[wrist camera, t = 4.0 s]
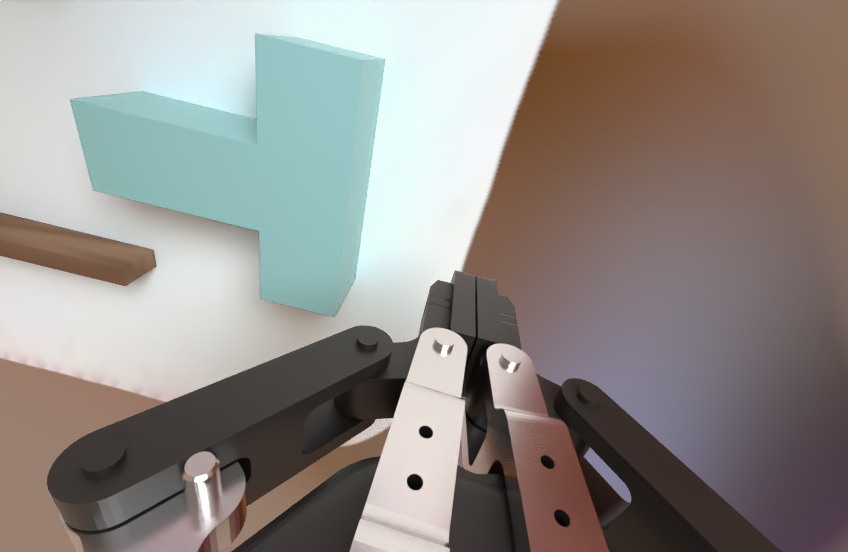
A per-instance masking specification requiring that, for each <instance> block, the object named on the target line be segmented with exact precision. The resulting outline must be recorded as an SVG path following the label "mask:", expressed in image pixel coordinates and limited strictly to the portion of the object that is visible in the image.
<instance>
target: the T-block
mask: <svg viewBox="0 0 848 552" xmlns="http://www.w3.org/2000/svg"><path fill="white" fill-rule="evenodd" d="M255 60H256V108H257V119H253V118H249V117H245V116H241V115H236V114H232V113H228V112H224V111H220V110H216V109H212V108H208V107H204V106H200V105H196V104H192V103H188V102H184V101H180V100H176V99H171V98H167V97H163V96H159V95H155V94H151V93H147V92H143V91H142V92H132V93H123V94H113V95H104V96H95V97H85V98H76V99H70V102H71V106H72V110H73V114H74V117H75V121H76V125H77V129H78V133H79V137H80V141H81V145H82V148H83V152H84V156H85V160H86V164H87V168H88V172H89V176H90V180H91V183H92V187H93V191H97V192H101V193H105V194H110V195H114V196H118V197H122V198H126V199H130V200H134V201H138V202H142V203H146V204H150V205H154V206H159V207H163V208H167V209H171V210H175V211H179V212H183V213H187V214H191V215H195V216H199V217H204V218H208V219H212V220H216V221H220V222H224V223H228V224H232V225H236V226H240V227H244V228H248V229H253V230H257V231H259V252H260V299H262V300H266V301H270V302H274V303H278V304H283V305H287V306H291V307H295V308H299V309H303V310H307V311H311V312H315V313H319V314H324V315H328V316H332V317H335V315H336V313H337V312H338V310H339V308H340V306H341V304H342V302H343V301H344V299H345V297H346V295H347V293H348V291H349V289H350V288H351V286H352V284H353V282H354V280H355V277H356V270H357V263H358V255H359V248H360V241H361V233H362V226H363V219H364V211H365V204H366V196H367V189H368V182H369V174H370V167H371V160H372V152H373V145H374V138H375V130H376V123H377V115H378V108H379V101H380V93H381V86H382V79H383V71H384V64H385V59H382V58H378V57H374V56H370V55H366V54H362V53H358V52H354V51H350V50H346V49H342V48H338V47H334V46H330V45H325V44H321V43H317V42H313V41H309V40H305V39H301V38H294V37H284V36H275V35H265V34H255Z"/></svg>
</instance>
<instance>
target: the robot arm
mask: <svg viewBox="0 0 848 552" xmlns="http://www.w3.org/2000/svg"><path fill="white" fill-rule="evenodd" d="M461 396H464V397H466V404H465V400H464V399H463V398H461ZM382 418H393V420H392V423H391V427H390V430H389V433H388V436H387V439H386V442H385V445H384V448H383V451H382V455H381V456H379V457H372V458H368V459H364V460H360V461H358V462H355V463H353V464H350V465H349V466H347V467H345V468H343V469H341V470H340V471H338V472H337V473H335V474H334V475H333V476H332V477H330V478H329V479H327V480H326V481H325V482H323V483H322V484H321V485H319V486H318V487H317V488H315V489H314V490H313V491H311V492H310V493H309V494H307V495H306V496H305V497H303V498H302V499H301V500H300V501H298V502H297V503H295V504H294V505H293V506H291V507H290V508H289V509H288V510H286V511H285V512H283V513H282V514H281V515H279V516H278V517H277V518H275V520H273V521H272V522H270V523H269V524H268V525H266V526H265V527H264V528H262V529H261V530H260V531H258V532H257V533H256V534H254V535H253V536H252V537H250V538H249V539H248V540H246V541H245V542H244V543H242V544H241V545H240V546H238V547H237V548H236V549H234V550H233V551H232V552H782V551H781V550H780V549H779V548H777V547H776V546H775V545H774V544H773V543H772V542H771V541H770V540H769V539H767V538H766V537H765V536H764V535H763V534H762V533H761V532H759V530H757V529H756V528H755V527H754V526H753V525H752V524H751V523H749V522H748V521H747V520H746V519H745V518H744V517H743V516H742V515H741V514H740V513H738V512H737V511H736V510H735V509H734V508H733V507H732V506H731V505H729V504H728V503H727V502H726V501H725V500H724V499H723V498H722V497H721V496H719V495H718V494H717V493H716V492H715V491H714V490H713V489H711V488H710V487H709V486H708V485H707V484H706V483H705V482H704V481H703V480H702V479H700V478H699V477H698V476H697V475H696V474H695V473H694V472H692V471H691V470H690V469H689V468H688V467H687V466H686V465H685V464H683V462H681V461H680V460H679V459H678V458H677V457H676V456H675V455H673V454H672V453H671V452H670V451H669V450H668V449H667V448H666V447H664V446H663V445H662V444H661V443H660V442H659V441H658V440H657V439H656V438H654V437H653V436H652V435H651V434H650V433H649V432H648V431H646V429H644V428H643V427H642V426H641V425H640V424H639V423H638V422H637V421H636V420H634V419H633V418H632V417H631V416H630V415H629V414H627V412H625V411H624V410H623V409H622V408H621V407H620V406H619V405H618V404H616V403H615V402H614V401H613V400H612V399H611V398H610V397H609V396H608V395H606V394H605V393H604V392H603V391H602V390H601V389H599V388H598V387H597V386H595V385H593V384H592V383H590V382H587V381H585V380H582V379H576V378H574V379H573V378H572V379H568V380H566V381H565V382H564V383H563V384H562V386H559V385H557V384H555V383H553V382H551V381H549V380H547V379H545V378H542V377H541V376H539V375H538V374H536V371H535V369H534V365H533V362H532V361H531V359H530V358H529V356H528V355H527V354H526V353H524V352H523V351H522V350H521V344H520V338H519V332H518V326H517V320H516V314H515V308H514V306H513V305H512V303H511V302H510V300H509V299H508V298H507V297H504V296H500V295H498V292H497V283H496V281H495V280H491V279H488V278H483V277H480V276H475V275H471V274H467V273H463V272H459V271H455V272H454V274H453V277H452V280H451V283H448V282H444V281H440V280H438V281H436V282H435V283H434V284H433V285H432V286H431V287H430V291H429V295H428V298H427V302H426V306H425V309H424V313H423V317H422V321H421V326H420V331H419V336H418V337H417V338H416V339H414V340H412V341H409V342H401V343H393V342H392V340H391V338H390V336H389V335H388V334H387V333H385V332H384V331H382V330H381V329H378V328H376V327H372V326H356V327H353V328H350V329H348V330H345V331H343V332H340V333H338V334H335V335H333V336H330V337H328V338H325V339H323V340H320V341H318V342H315V343H313V344H310V345H308V346H305V347H303V348H300V349H298V350H295V351H293V352H290V353H288V354H285V355H283V356H280V357H278V358H275V359H273V360H270V361H268V362H265V363H263V364H261V365H258V366H256V367H253V368H251V369H248V370H246V371H243V372H241V373H238V374H236V375H233V376H231V377H228V378H226V379H223V380H221V381H218V382H216V383H213V384H211V385H208V386H206V387H203V388H201V389H198V390H196V391H193V392H191V393H188V394H186V395H183V396H181V397H178V398H176V399H173V400H171V401H168V402H166V403H164V404H161V405H159V406H156V407H154V408H151V409H149V410H146V411H144V412H141V413H139V414H136V415H134V416H131V417H129V418H126V419H124V420H121V421H119V422H116V423H114V424H112V425H109V426H106V427H104V428H102V429H99V430H96V431H94V432H92V433H90V434H88V435H86V436H84V437H82V438H80V439H79V440H77V441H76V442H74V443H73V444H71V445H70V446H69V447H68V448H67V449H65V450H64V451H63V452H62V453H61V454H60V456H58V458H57V459H56V460H55V462H54V463H53V465H52V467H51V469H50V471H49V474H48V477H47V485H48V490H49V491H50V494H51V495H52V498H53V500H54V501H55V503H56V505H57V507H58V509H59V517H60V521H61V523H62V525H63V526H64V529H65V530H66V533H67V534H68V536H69V538H70V540H71V542H72V544H73V546H74V548H75V550H76V552H222V551H224V550H225V549H226V548H227V547H228V546H229V545H230V544H231V543H232V542H233V541H234V540H235V539H236V538H237V536H238V535H239V533H240V532H241V530H242V528H243V526H244V523H245V519H246V514H247V506H248V505H249V504H251V503H253V502H254V501H256V500H257V499H259V498H260V497H262V496H263V495H265V494H266V493H268V492H270V491H271V490H273V489H274V488H276V487H277V486H279V485H280V484H282V483H283V482H285V481H287V480H288V479H290V478H291V477H293V476H294V475H296V474H297V473H299V472H300V471H302V470H303V469H305V468H306V467H308V466H310V465H311V464H313V463H314V462H316V461H317V460H319V459H320V458H322V457H323V456H325V455H327V454H328V453H329V452H331V451H333V450H334V449H336V448H337V447H339V446H341V445H342V444H344V443H345V442H347V441H348V440H350V439H351V438H353V437H354V436H356V435H357V434H359V433H361V432H362V431H364V430H365V429H367V428H368V427H370V426H371V425H372V424H373V423H374V421H375V420H376V419H382ZM461 436H462V455H463V468H462V467H460V466H458V465H457V463H458V456H459V448H460V439H461ZM590 447H591V448H592V449H593V450H594V451H595V453H596V454H597V455H598V456H599V457H600V458H601V459H602V460H603V461H604V462H605V463H606V464H607V465H608V466H609V467H610V468H611V469H612V470H613V471H614V472H615V473H616V474H617V475H618V477H619V478H620V479H621V480H622V481H623V482H624V483H625V484H626V485H627V487H628V489H629V491H630V493H631V498H632V500H631V504H630V503H628V502H626V501H625V500H623V499H622V498H621V497H620V496H619V495H618V494H617V492H616V491H615V490H614V489H613V488H612V487H611V486H610V485H609V484H608V483H607V482H606V481H605V479H604V478H603V477H602V476H601V475H600V474H599V473H598V472H597V471H596V470H595V469H594V468H593V466H592V465H591V464H590V463H589V462H588V461H587V460H586V459H585V458H584V455H585V454H586V452H587V451H588V450H589V448H590Z"/></svg>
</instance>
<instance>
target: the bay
mask: <svg viewBox="0 0 848 552" xmlns="http://www.w3.org/2000/svg"><path fill="white" fill-rule="evenodd" d="M0 256H4V257H8V258H12V259H17V260H21V261H25V262H29V263H33V264H37V265H41V266H45V267H49V268H53V269H58V270H62V271H66V272H70V273H74V274H78V275H82V276H86V277H90V278H95V279H99V280H103V281H107V282H111V283H115V284H119V285H123V286H127V285H128V284H130V283H131V282H133V281H134V280H136V279H137V278H139V277H140V276H142V275H143V274H145V273H146V272H148V271H149V270H151V269H152V268H154V267H156V262H155V256H154V251H153V250H151V249H147V248H143V247H139V246H135V245H131V244H127V243H123V242H119V241H114V240H110V239H106V238H102V237H98V236H94V235H90V234H86V233H82V232H78V231H74V230H69V229H65V228H61V227H57V226H53V225H49V224H45V223H41V222H37V221H33V220H28V219H24V218H20V217H16V216H12V215H8V214H4V213H0Z"/></svg>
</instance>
